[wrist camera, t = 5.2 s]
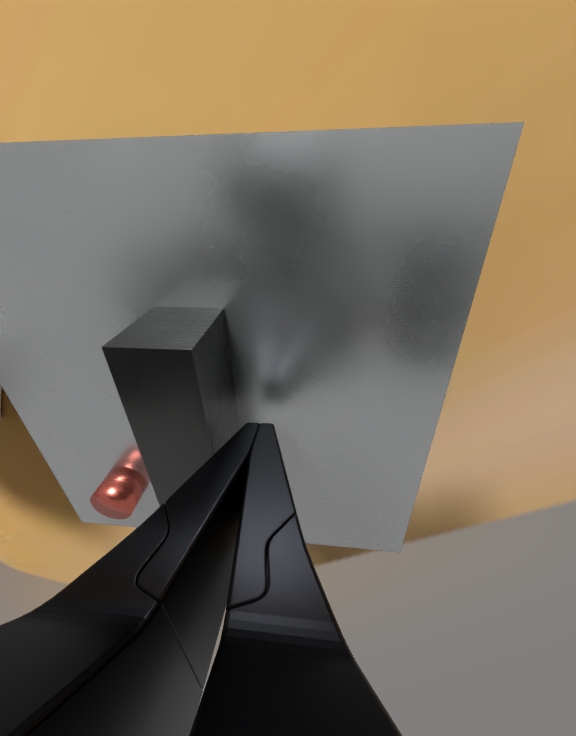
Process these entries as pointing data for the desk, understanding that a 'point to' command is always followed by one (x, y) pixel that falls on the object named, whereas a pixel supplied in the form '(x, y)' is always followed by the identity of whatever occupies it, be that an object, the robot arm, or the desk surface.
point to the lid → (245, 308)
